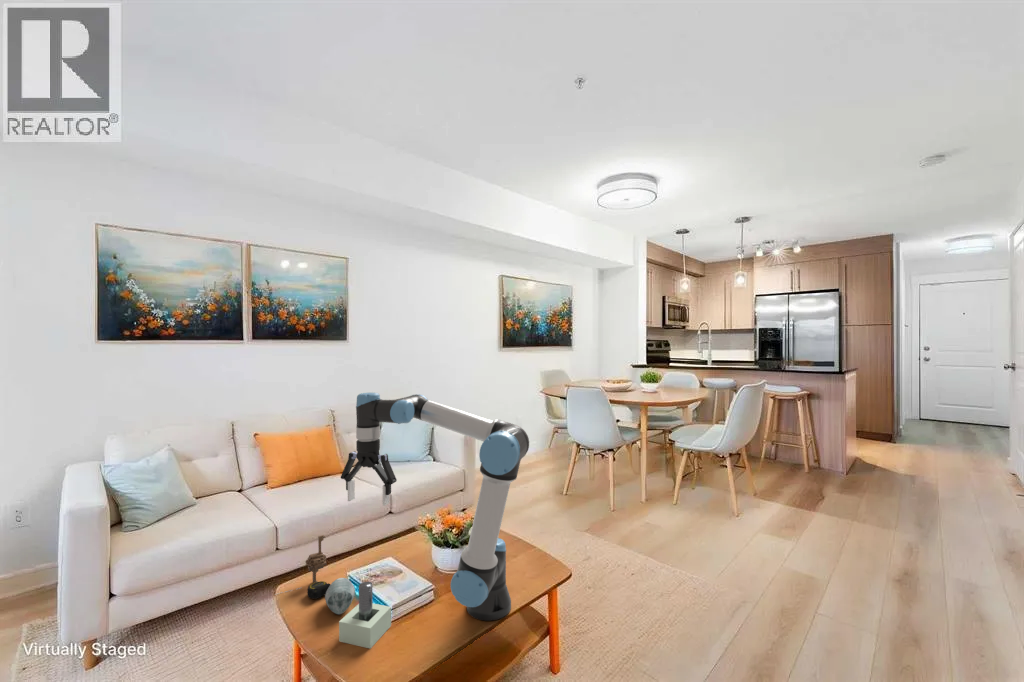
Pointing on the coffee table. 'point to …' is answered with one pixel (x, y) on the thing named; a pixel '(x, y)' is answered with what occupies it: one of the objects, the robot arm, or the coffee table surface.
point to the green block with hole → (365, 626)
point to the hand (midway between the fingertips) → (368, 502)
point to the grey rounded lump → (340, 595)
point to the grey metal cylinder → (365, 601)
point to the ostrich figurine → (316, 560)
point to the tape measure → (317, 589)
